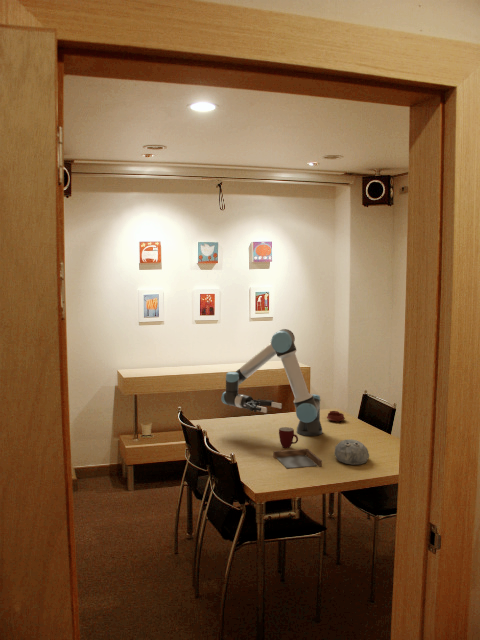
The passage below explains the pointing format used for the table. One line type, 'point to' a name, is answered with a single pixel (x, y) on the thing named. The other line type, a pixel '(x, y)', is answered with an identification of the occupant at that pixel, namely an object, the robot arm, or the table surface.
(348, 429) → the table surface
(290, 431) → the mug
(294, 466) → the tray
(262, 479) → the table surface
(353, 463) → the decorative stone
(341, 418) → the pottery
